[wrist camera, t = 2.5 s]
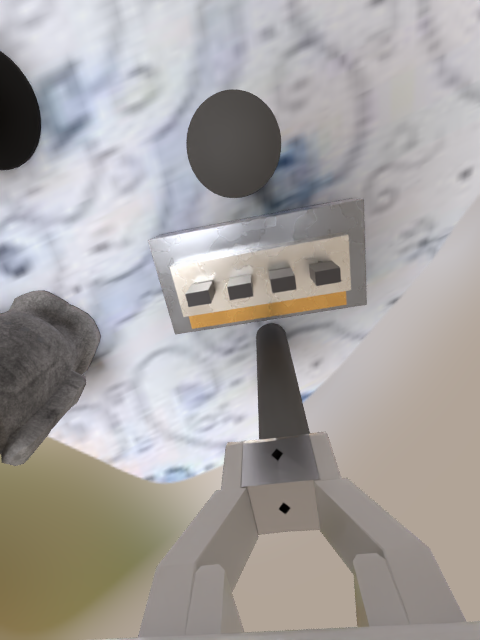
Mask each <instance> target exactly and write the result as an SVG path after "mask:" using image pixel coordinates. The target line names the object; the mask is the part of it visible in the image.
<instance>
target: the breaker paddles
mask: <svg viewBox="0 0 480 640" xmlns="http://www.w3.org/2000/svg"><path fill="white" fill-rule="evenodd" d="M309 271H310V278H311V279H312V281H313V282H314V284H315V285H316V286H320V285H326V284H332V283H338V282H341V272H340V267H339V266H338V265H337V264H335V263H334V262H333V261H332V260H331V261H326V262H320V263H314V264H309ZM269 277H270V284H271V289H272V293H278V292H284V291H290V290H296V280H295V275H294V273H293V271H292V269H291V268H285V269H279V270H273V271H269ZM227 289H228V294H229V298H230V300H235V299H241V298H247V297H253V283H252V277H251V274H250V275H244V276H238V277H233V278H229V281H228V285H227ZM185 295H186V299H187V303H188V307H192V306H199V305H205V304H211V303H212V300H213V298H214V295H215V291H214V286H213V282H212V281H209V282H204V283H198V284H192V285H191V286H190V287H189V289H188V290H187V292H186V293H185Z"/></svg>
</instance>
